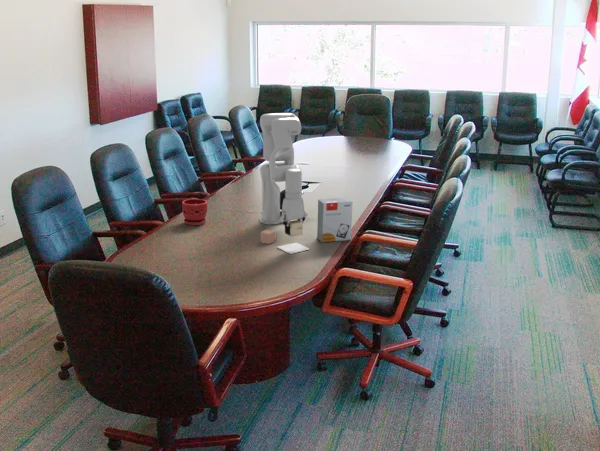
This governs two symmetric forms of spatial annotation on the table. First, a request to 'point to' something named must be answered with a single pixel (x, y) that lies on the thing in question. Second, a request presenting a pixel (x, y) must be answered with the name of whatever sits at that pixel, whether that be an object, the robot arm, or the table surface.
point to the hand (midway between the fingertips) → (293, 232)
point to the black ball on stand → (281, 200)
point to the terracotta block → (267, 236)
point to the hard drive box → (334, 219)
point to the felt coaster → (293, 248)
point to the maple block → (296, 228)
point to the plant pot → (194, 211)
